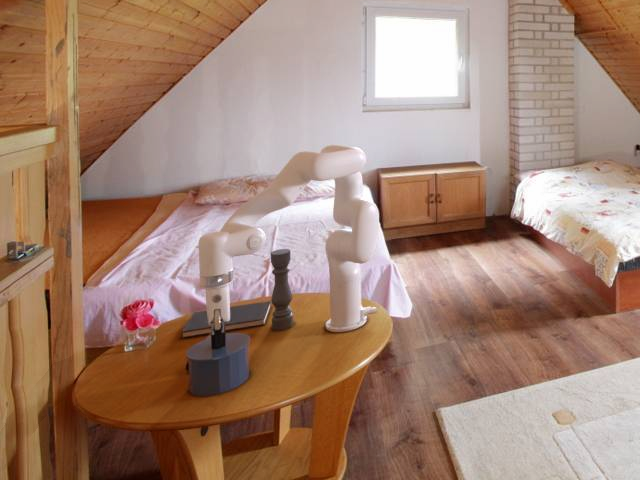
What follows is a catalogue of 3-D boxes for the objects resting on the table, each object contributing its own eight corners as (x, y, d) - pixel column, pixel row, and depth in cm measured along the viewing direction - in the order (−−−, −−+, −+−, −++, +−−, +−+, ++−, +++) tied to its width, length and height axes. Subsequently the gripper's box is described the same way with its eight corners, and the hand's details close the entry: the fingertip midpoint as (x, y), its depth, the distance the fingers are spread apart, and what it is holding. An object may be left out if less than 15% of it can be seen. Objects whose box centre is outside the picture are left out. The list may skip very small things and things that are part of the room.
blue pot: (248, 363, 167) (247, 331, 167) (249, 385, 156) (248, 351, 155) (191, 377, 160) (189, 344, 160) (188, 402, 148) (186, 366, 148)
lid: (249, 332, 168) (248, 311, 167) (250, 353, 155) (250, 331, 155) (187, 346, 160) (187, 324, 160) (184, 369, 148) (183, 346, 147)
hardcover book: (264, 325, 191) (264, 318, 191) (181, 338, 182) (181, 331, 182) (271, 306, 206) (271, 300, 206) (194, 318, 197) (194, 311, 197)
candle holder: (297, 323, 193) (295, 249, 192) (281, 331, 187) (279, 255, 186) (283, 320, 195) (281, 247, 194) (267, 329, 189) (265, 253, 188)
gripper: (233, 285, 152) (235, 353, 153) (232, 266, 166) (234, 329, 166) (198, 291, 148) (200, 361, 149) (201, 272, 162) (203, 336, 162)
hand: (218, 344), depth 158 cm, fingers open, 3 cm apart
